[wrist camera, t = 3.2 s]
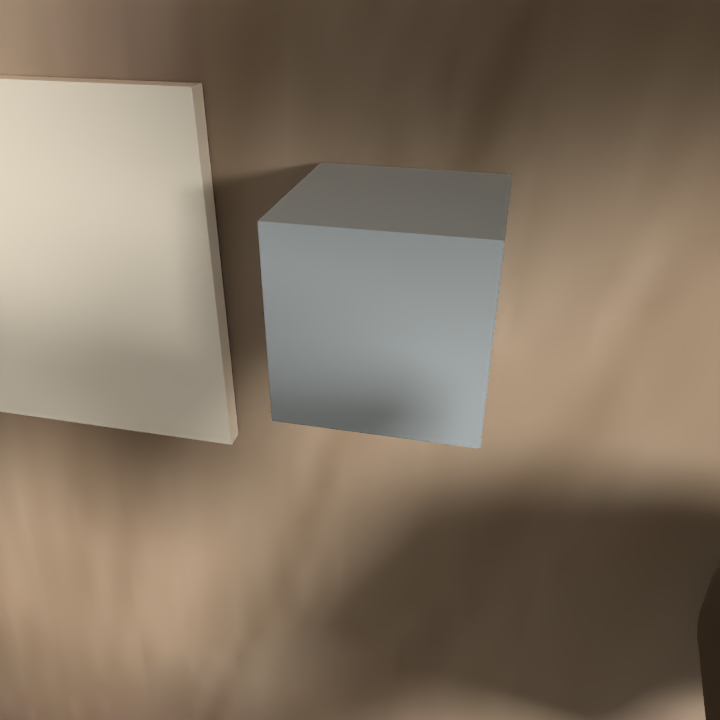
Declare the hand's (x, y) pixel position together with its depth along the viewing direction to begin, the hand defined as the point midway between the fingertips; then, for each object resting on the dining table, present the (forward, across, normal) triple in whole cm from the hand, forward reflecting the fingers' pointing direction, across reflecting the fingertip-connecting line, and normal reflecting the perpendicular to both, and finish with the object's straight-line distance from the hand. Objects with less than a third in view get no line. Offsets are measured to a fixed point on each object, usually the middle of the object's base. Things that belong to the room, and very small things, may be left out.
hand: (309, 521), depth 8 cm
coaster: (+8, +9, +1) cm, 12 cm away
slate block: (+8, 0, 0) cm, 8 cm away
